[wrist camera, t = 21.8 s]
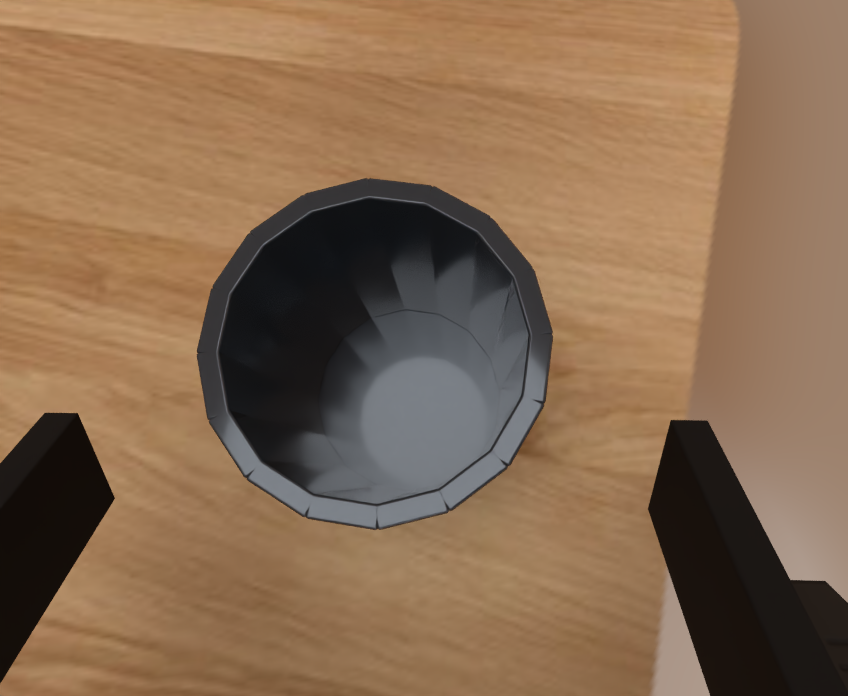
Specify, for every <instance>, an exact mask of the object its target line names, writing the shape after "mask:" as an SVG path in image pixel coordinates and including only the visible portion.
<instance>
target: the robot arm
mask: <svg viewBox="0 0 848 696" xmlns="http://www.w3.org/2000/svg"><path fill="white" fill-rule="evenodd" d="M114 499H115V498H114V495H113V493H112V491H111V488H110V486H109V484H108V482H107V479H106V477H105V475H104V472H103V470H102V468H101V466H100V463H99V461H98V459H97V456H96V454H95V452H94V450H93V447H92V445H91V443H90V440H89V438H88V436H87V433H86V431H85V429H84V427H83V424H82V422H81V420H80V417H79V415H78V413H44V415H43V416H42V417H41V418H40V419H39V420H38V421H37V422H36V424H35V425H34V426H33V427H32V428H31V429H30V430H29V432H28V433H27V434H26V435H25V436H24V437H23V438H22V439H21V441H20V442H19V443H18V444H17V445H16V446H15V447H14V449H13V450H12V451H11V452H10V453H9V454H8V455H7V456H6V458H5V459H4V460H3V461H2V462H1V463H0V683H1V681H2V680H3V678H4V677H5V675H6V673H7V672H8V670H9V668H10V667H11V665H12V664H13V662H14V660H15V659H16V657H17V656H18V654H19V652H20V651H21V649H22V648H23V646H24V644H25V643H26V641H27V639H28V638H29V636H30V635H31V633H32V631H33V630H34V628H35V627H36V625H37V623H38V622H39V620H40V618H41V617H42V615H43V614H44V612H45V610H46V609H47V607H48V606H49V604H50V602H51V601H52V599H53V597H54V596H55V594H56V593H57V591H58V589H59V588H60V586H61V585H62V583H63V581H64V580H65V578H66V577H67V575H68V573H69V572H70V570H71V568H72V567H73V565H74V564H75V562H76V560H77V559H78V557H79V556H80V554H81V552H82V551H83V549H84V547H85V546H86V544H87V543H88V541H89V539H90V538H91V536H92V535H93V533H94V531H95V530H96V528H97V526H98V525H99V523H100V522H101V520H102V518H103V517H104V515H105V514H106V512H107V510H108V509H109V507H110V506H111V504H112V502H113V501H114ZM648 510H649V513H650V516H651V519H652V522H653V525H654V528H655V531H656V534H657V537H658V540H659V543H660V546H661V549H662V552H663V555H664V558H665V561H666V564H667V567H668V570H669V573H670V576H671V579H672V582H673V585H674V588H675V591H676V594H677V597H678V600H679V603H680V606H681V609H682V612H683V615H684V618H685V621H686V624H687V627H688V630H689V633H690V636H691V639H692V642H693V645H694V648H695V651H696V654H697V657H698V660H699V663H700V666H701V669H702V672H703V675H704V678H705V681H706V684H707V687H708V690H709V693H710V696H848V603H847V602H846V601H845V600H844V599H843V598H842V597H841V596H840V595H839V594H838V593H837V592H836V591H835V590H834V589H833V588H832V587H831V586H830V585H829V584H828V583H827V582H826V581H802V580H801V581H800V580H790V579H789V577H788V575H787V573H786V571H785V569H784V567H783V565H782V563H781V561H780V559H779V557H778V556H777V554H776V552H775V550H774V548H773V546H772V544H771V542H770V540H769V538H768V536H767V535H766V532H765V531H764V529H763V527H762V525H761V523H760V521H759V519H758V517H757V515H756V513H755V511H754V509H753V507H752V506H751V504H750V502H749V500H748V498H747V496H746V494H745V492H744V490H743V488H742V486H741V484H740V482H739V481H738V478H737V477H736V475H735V473H734V471H733V469H732V467H731V465H730V463H729V461H728V459H727V457H726V455H725V454H724V452H723V450H722V448H721V446H720V444H719V442H718V440H717V438H716V436H715V434H714V432H713V430H712V429H711V426H710V425H709V423H708V421H692V420H671V422H670V426H669V429H668V433H667V437H666V441H665V445H664V449H663V453H662V457H661V460H660V464H659V468H658V472H657V476H656V480H655V484H654V488H653V492H652V495H651V499H650V503H649V507H648Z"/></svg>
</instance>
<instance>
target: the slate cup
mask: <svg viewBox="0 0 848 696" xmlns="http://www.w3.org/2000/svg"><path fill="white" fill-rule="evenodd" d="M552 333H553V331H552V327H551V324H550V321H549V317H548V314H547V311H546V307H545V304H544V301H543V297H542V294H541V290H540V287H539V284H538V280H537V277H536V274H535V271H534V269H533V268H532V266H531V264H530V263H529V262H528V261H527V260H526V258H525V257H524V256H523V255H522V253H521V252H520V251H519V250H518V249H517V247H516V246H515V245H514V244H513V243H512V241H511V240H510V239H509V238H508V237H507V235H506V234H505V233H504V232H503V230H502V229H501V228H500V227H499V226H498V224H497V223H496V222H495V221H494V220H493V219H492V218H490V216H489V215H487V214H485V213H483V212H482V211H480V210H478V209H476V208H474V207H472V206H470V205H468V204H467V203H465V202H463V201H461V200H459V199H457V198H455V197H454V196H452V195H450V194H448V193H446V192H444V191H442V190H440V189H439V188H437V187H435V186H433V187H432V186H431V185H423V184H414V183H405V182H397V181H388V180H380V179H371V178H370V179H367V178H365V179H361V180H357V181H353V182H349V183H345V184H341V185H337V186H333V187H329V188H326V189H322V190H318V191H314V192H310V193H306V194H304V195H302V196H300V197H299V198H297V199H296V200H295V201H293V202H292V203H290V204H289V205H287V206H286V207H285V208H283V209H282V210H280V211H279V212H277V213H276V214H274V215H273V216H272V217H270V218H269V219H267V220H266V221H264V222H263V223H262V224H260V225H259V226H257V227H256V228H254V229H253V230H251V232H250V233H249V234H248V235H247V236H246V238H245V239H244V241H243V242H242V243H241V245H240V246H239V248H238V249H237V251H236V252H235V254H234V255H233V257H232V258H231V260H230V261H229V262H228V264H227V265H226V267H225V268H224V270H223V271H222V273H221V274H220V276H219V277H218V279H217V280H216V281H215V283H214V284H213V288H212V289H211V292H210V296H209V300H208V305H207V309H206V313H205V318H204V322H203V327H202V331H201V335H200V340H199V344H198V348H197V353H198V354H197V360H198V366H199V372H200V378H201V384H202V390H203V396H204V401H205V407H206V413H207V418H208V420H209V423H210V425H211V427H212V428H213V430H214V431H215V433H216V434H217V436H218V437H219V439H220V440H221V442H222V444H223V445H224V447H225V448H226V450H227V451H228V453H229V454H230V456H231V457H232V459H233V461H234V462H235V464H236V465H237V467H238V468H239V470H240V471H241V473H242V474H243V476H244V477H245V478H247V480H248V481H249V482H251V483H252V484H254V485H255V486H257V487H258V488H260V489H261V490H263V491H264V492H266V493H267V494H269V495H270V496H272V497H273V498H275V499H276V500H278V501H279V502H281V503H283V504H284V505H286V506H287V507H289V508H290V509H292V510H293V511H295V512H296V513H298V514H299V515H301V516H302V517H306V518H308V519H312V520H318V521H324V522H330V523H336V524H342V525H348V526H354V527H360V528H366V529H372V530H377V529H379V530H382V529H386V528H390V527H394V526H398V525H402V524H406V523H410V522H414V521H418V520H422V519H426V518H430V517H434V516H438V515H442V514H446V513H448V512H449V511H452V510H454V509H455V508H456V507H458V506H459V505H460V504H462V503H463V502H464V501H466V500H467V499H468V498H469V497H471V496H472V495H473V494H475V493H476V492H477V491H479V490H480V489H481V488H483V487H484V486H485V485H487V484H488V483H489V482H491V481H492V480H493V479H495V478H496V477H497V476H498V475H500V474H501V473H502V472H504V471H505V470H506V469H507V468H508V466H510V465H511V463H512V462H513V460H514V458H515V456H516V455H517V453H518V451H519V449H520V448H521V446H522V444H523V442H524V441H525V439H526V437H527V435H528V434H529V432H530V430H531V428H532V427H533V425H534V423H535V421H536V420H537V418H538V416H539V414H540V413H541V411H542V409H543V407H544V403H545V401H546V393H547V385H548V376H549V368H550V359H551V350H552V342H553V335H552Z"/></svg>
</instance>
